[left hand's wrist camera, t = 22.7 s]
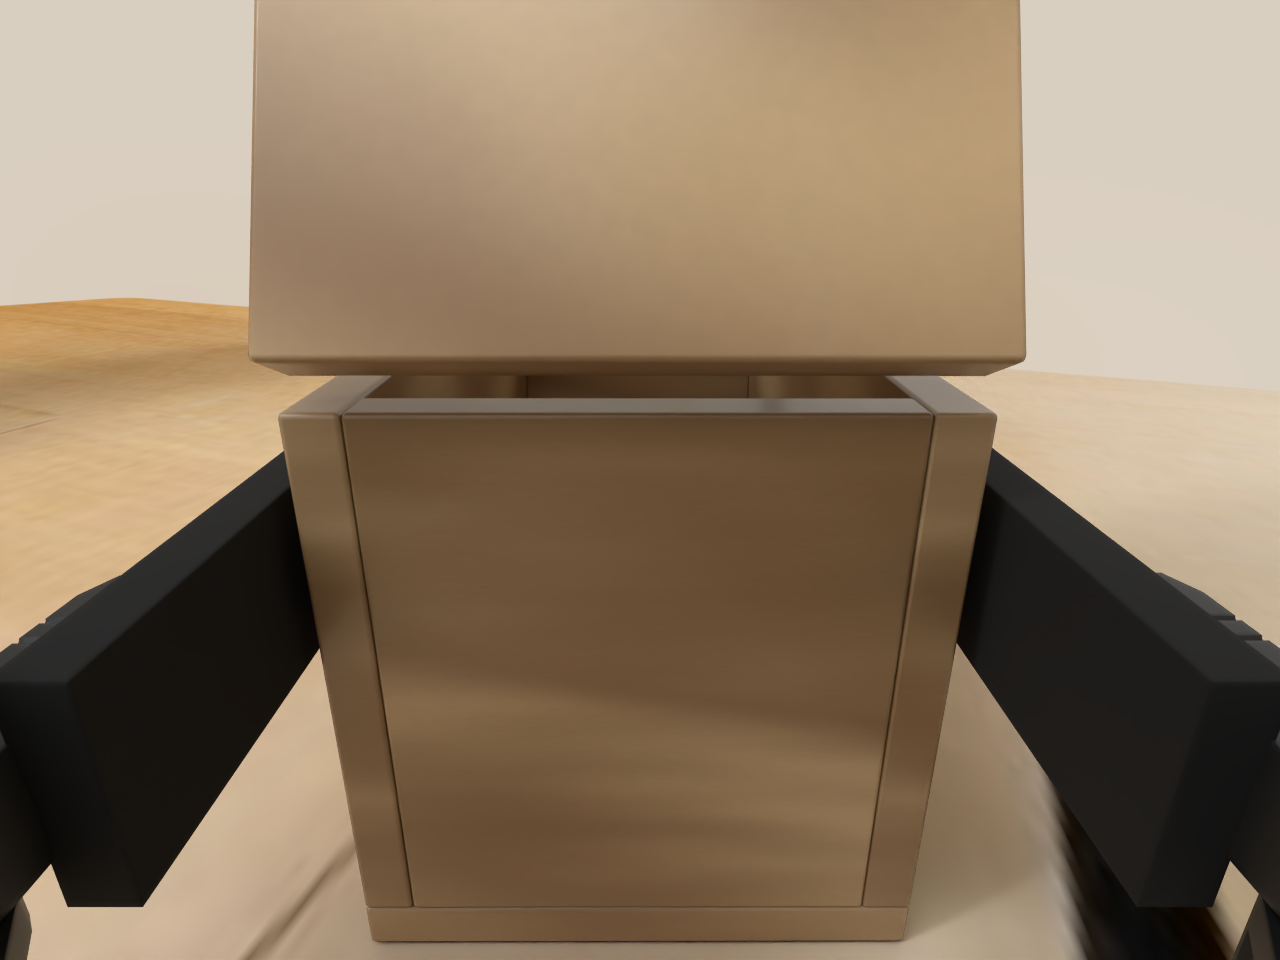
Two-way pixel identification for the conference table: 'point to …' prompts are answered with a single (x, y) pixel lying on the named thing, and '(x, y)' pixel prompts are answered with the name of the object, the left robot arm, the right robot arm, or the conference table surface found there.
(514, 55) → the lid
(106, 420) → the conference table surface
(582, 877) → the chest
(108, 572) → the conference table surface
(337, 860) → the conference table surface
